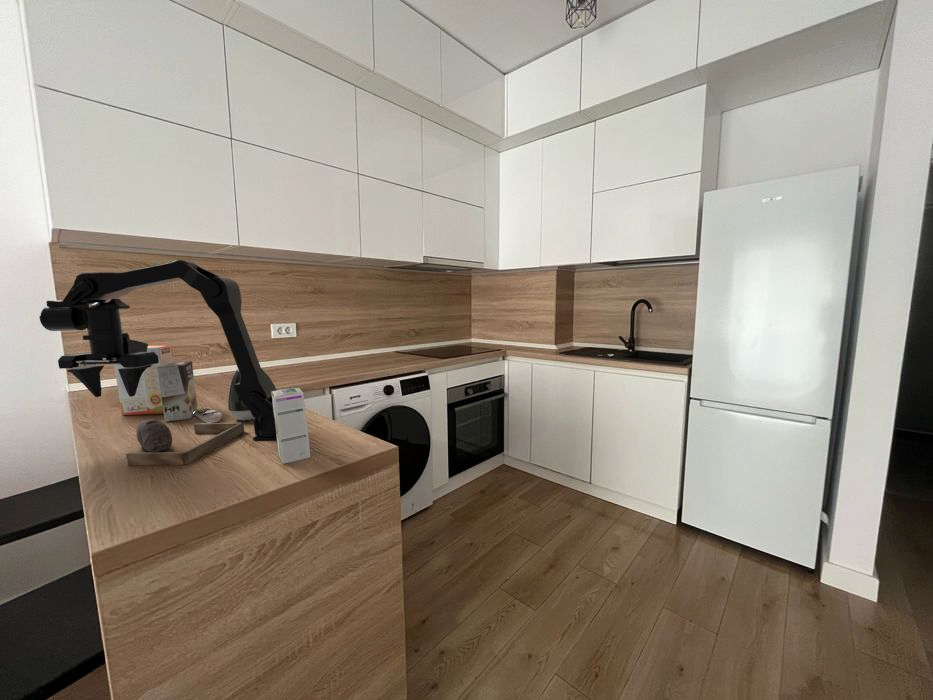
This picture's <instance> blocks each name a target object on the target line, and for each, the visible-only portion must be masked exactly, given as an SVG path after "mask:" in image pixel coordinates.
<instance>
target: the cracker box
mask: <svg viewBox="0 0 933 700" xmlns="http://www.w3.org/2000/svg"><path fill="white" fill-rule="evenodd" d="M147 352H155V353H156V354H157V355H158V359H159V363H156V364H152V366H151V367H149V368H147V369H146V370H145V371H144V372H143V373H142V376H141V378H140V381H139V384H138V387H137V391H136V394H135V396H132V397H129V395H128V393H127V391H126V389H125V386H124V384H123V381H122V378H121V376H120V373H119V371H118V369H122V368H126V367H123V366H122V365H121V364H113V367H114V372H115V379H116V386H117V392H118V397H119V405H120V412H121V415H122V416H134V415H136V416H137V415H138V416H139V415H140V416H141V415H156V414H158V415H159V414H163V415H164V412H163V404H162V397H161V390H160V383H159V375H158V369H157V367H159V366H162V365H164V364H167V363H175V362H174V355H173V349H172V345H169V344H167V345H148V348H147Z"/></svg>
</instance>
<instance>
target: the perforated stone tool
mask: <svg viewBox="0 0 933 700" xmlns="http://www.w3.org/2000/svg"><path fill="white" fill-rule="evenodd" d="M135 433H136V438H137V442H138V443H139V445H140V446H141V447H142V448H143V449H144V450H145V451H147V452H162V451H163V452H164V451H167V450H169V449H170V447H172V444H173V434H172V431H171V430H170V428H169V427H168V426H167V424H166V423H165V422H164V421H162V420H158V419H153V418H149V419H145V420H142V421H141V422H140V423H139V424H138V425H137V428H136V432H135Z"/></svg>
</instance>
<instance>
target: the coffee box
mask: <svg viewBox="0 0 933 700" xmlns="http://www.w3.org/2000/svg"><path fill="white" fill-rule="evenodd" d="M157 369H158V375H159V383H160V390H161V397H162V404H163V412H164V414H163V417H164V419H163V420H164V423H165V422H167V423H168V422H173V421H182V420H190V419H191V418H192V417H193V416H194V415H193V412H194V411H197V410H198V411H199V407H198V400H197V391H196V384H195V382H196V381H195V375H194V374H195V373H194V366H193V361H192V360H189V361H188V360H186V361H177V362H176V361H175V362H174V363H167V364H164V365H162V366H159V367H157ZM198 411H197V412H198Z"/></svg>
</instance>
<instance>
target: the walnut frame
mask: <svg viewBox="0 0 933 700" xmlns="http://www.w3.org/2000/svg"><path fill="white" fill-rule="evenodd" d="M193 428H194V434H195V433H202V434H216V435H214V436H212V437H210V438H209V439H207V440H204V441H203V442H200V443H198V444H197V445H195V446H193V447H190V448H189V449H187V450H185V451H163V452H162V451H160V452H149V451H147V452H128V453H126V454H125V456H126V460H127V461H126V463H127V466H177V465H178V466H180V465H181V466H185V465H188V463H189V464H190V463H192V462H194V461H195V459H196V460H197V459H199V458H201V457H202V455H203V456H204V455H206V454H208V453H210V452H211V451H213V450H215V449H217V448H218V446H219V445H220V446H222V445H224V444H226V443H227V442H229V441H230V439H231V438H233V437H234V438H236V437H238V436H240V435H242V434H243V433H245V425H244V422H208V423H207V422H205V423H204V422H203V423H199V422H198V423H197V422H196V423H194V424H193ZM242 432H243V433H242ZM241 433H242V434H241ZM239 434H240V435H239ZM237 435H238V436H237ZM235 436H236V437H235ZM234 438H233V439H234ZM228 440H229V441H228ZM231 440H232V439H231ZM226 441H227V442H226ZM225 442H226V443H225ZM223 443H224V444H223ZM221 444H222V445H221ZM220 446H219V447H220ZM216 447H217V448H216ZM214 448H215V449H214ZM212 449H213V450H212ZM210 450H211V451H210ZM209 451H210V452H209ZM207 452H208V453H207ZM200 456H201V457H200ZM198 457H199V458H198ZM193 460H194V461H193Z"/></svg>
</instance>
